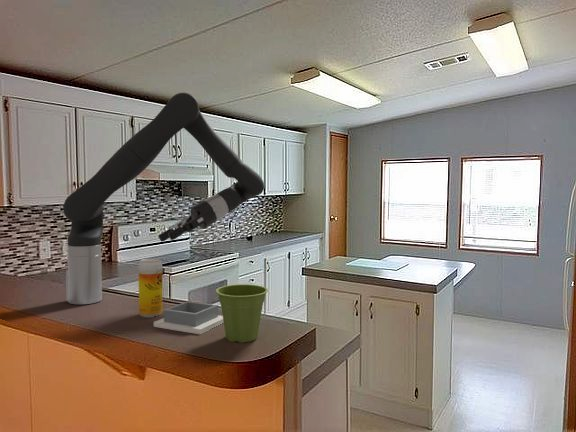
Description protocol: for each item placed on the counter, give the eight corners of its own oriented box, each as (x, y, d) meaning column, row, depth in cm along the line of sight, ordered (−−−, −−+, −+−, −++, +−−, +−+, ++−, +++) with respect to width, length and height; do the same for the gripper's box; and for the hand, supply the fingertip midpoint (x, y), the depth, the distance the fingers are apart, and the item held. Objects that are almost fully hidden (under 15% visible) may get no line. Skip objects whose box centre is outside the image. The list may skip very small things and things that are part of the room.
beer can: (155, 318, 116) (155, 262, 115) (134, 317, 117) (134, 261, 116) (166, 312, 122) (166, 258, 121) (146, 311, 123) (145, 258, 122)
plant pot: (204, 340, 99) (204, 290, 99) (239, 327, 109) (239, 282, 109) (244, 350, 93) (245, 298, 92) (277, 336, 102) (278, 288, 102)
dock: (153, 326, 109) (153, 309, 109) (184, 314, 120) (183, 299, 120) (200, 334, 103) (200, 316, 103) (227, 321, 114) (227, 305, 114)
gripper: (194, 203, 139) (150, 228, 130) (213, 197, 127) (166, 224, 119) (206, 223, 140) (163, 250, 132) (226, 219, 129) (180, 248, 120)
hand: (164, 238), depth 125 cm, fingers open, 8 cm apart
